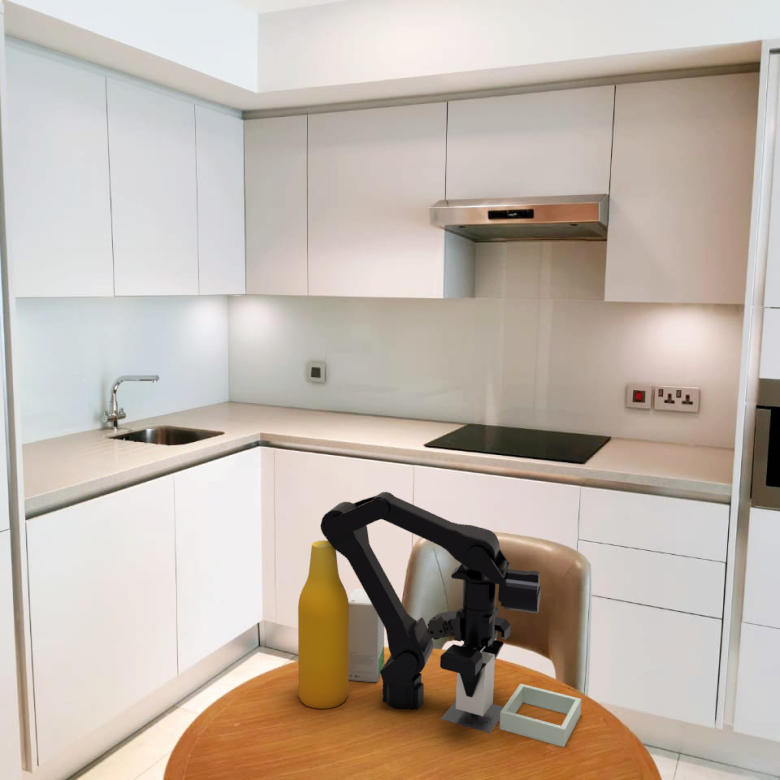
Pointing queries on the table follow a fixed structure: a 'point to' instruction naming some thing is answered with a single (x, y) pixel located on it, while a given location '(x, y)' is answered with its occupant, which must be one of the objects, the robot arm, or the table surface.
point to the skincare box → (364, 639)
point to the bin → (538, 727)
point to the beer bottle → (323, 632)
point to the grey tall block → (478, 690)
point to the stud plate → (474, 718)
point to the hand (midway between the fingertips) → (475, 689)
